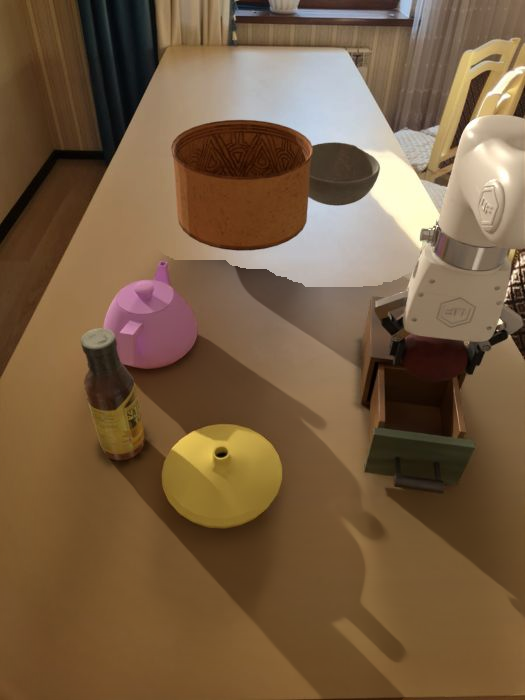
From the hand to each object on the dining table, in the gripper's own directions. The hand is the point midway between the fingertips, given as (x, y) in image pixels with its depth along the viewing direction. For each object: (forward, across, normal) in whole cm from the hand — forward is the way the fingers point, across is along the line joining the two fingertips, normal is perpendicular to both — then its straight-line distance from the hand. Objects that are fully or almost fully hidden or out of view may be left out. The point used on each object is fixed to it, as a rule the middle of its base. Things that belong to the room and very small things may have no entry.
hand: (431, 362), depth 68 cm
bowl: (+16, -15, +72) cm, 75 cm away
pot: (+16, -34, +51) cm, 63 cm away
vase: (+16, -25, -12) cm, 32 cm away
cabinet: (+16, 0, +13) cm, 20 cm away
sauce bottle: (+16, -40, -8) cm, 44 cm away
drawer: (+15, 0, -3) cm, 15 cm away
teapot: (+16, -42, +14) cm, 47 cm away
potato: (+2, 0, 0) cm, 2 cm away
